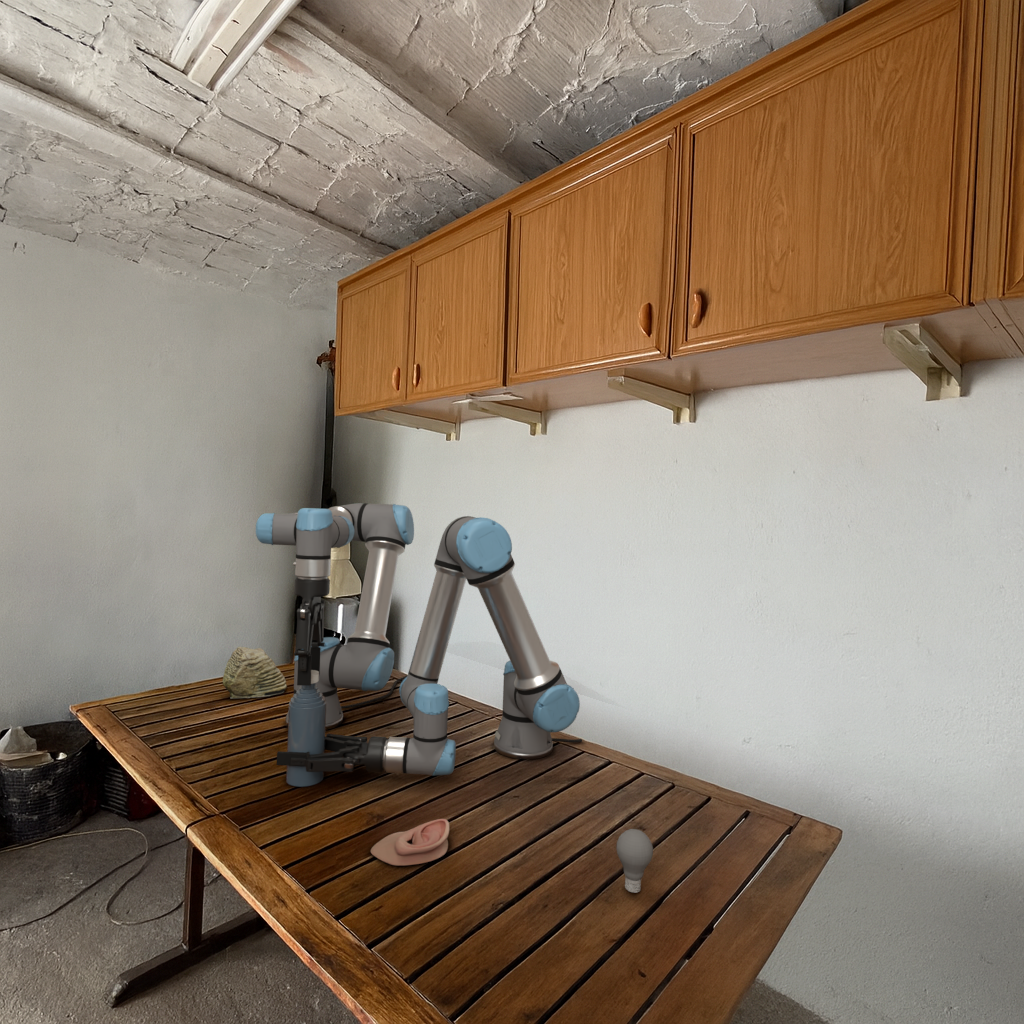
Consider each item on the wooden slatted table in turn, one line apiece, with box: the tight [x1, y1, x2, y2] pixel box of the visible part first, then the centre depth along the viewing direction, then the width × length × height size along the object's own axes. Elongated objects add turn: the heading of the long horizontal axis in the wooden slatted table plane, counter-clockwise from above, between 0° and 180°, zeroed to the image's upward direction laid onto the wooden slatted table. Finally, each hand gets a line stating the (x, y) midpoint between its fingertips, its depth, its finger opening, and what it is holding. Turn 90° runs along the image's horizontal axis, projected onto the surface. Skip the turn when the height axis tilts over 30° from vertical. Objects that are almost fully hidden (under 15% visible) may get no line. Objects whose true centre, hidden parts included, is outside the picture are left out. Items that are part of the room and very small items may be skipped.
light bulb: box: [615, 828, 654, 894], centre depth 106 cm, size 6×6×10 cm
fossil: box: [222, 646, 288, 699], centre depth 198 cm, size 9×18×15 cm, turn 132°
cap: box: [311, 670, 319, 684], centre depth 141 cm, size 4×4×2 cm
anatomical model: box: [370, 818, 450, 867], centre depth 115 cm, size 13×4×12 cm
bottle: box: [285, 683, 326, 788], centre depth 142 cm, size 8×8×23 cm
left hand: (308, 680), depth 141 cm, fingers open, 6 cm apart
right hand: (284, 750), depth 142 cm, fingers closed on bottle, 8 cm apart
